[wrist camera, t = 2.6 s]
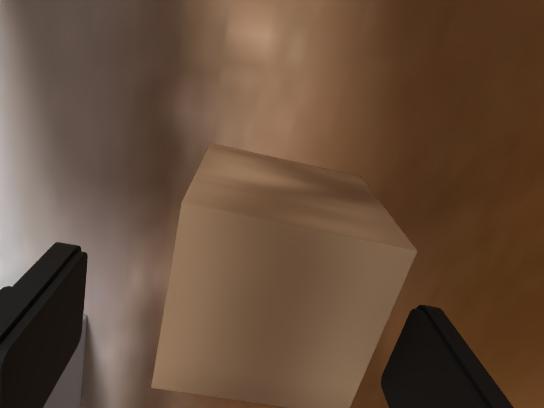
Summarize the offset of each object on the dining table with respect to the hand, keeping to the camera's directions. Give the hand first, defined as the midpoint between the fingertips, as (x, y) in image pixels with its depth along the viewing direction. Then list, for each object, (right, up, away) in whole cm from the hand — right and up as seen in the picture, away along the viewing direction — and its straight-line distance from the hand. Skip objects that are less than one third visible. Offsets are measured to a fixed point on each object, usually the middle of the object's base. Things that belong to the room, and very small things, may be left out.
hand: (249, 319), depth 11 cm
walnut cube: (+1, +2, +5) cm, 6 cm away
